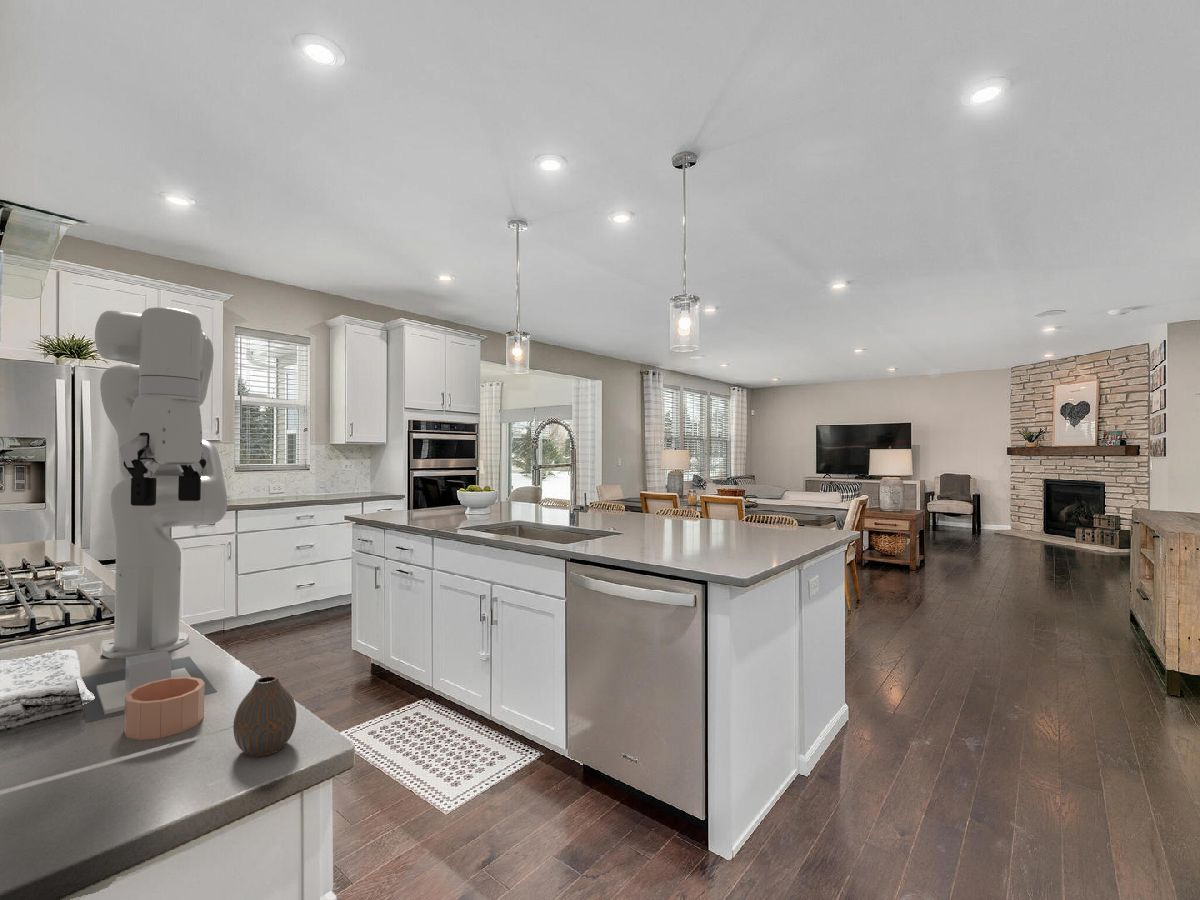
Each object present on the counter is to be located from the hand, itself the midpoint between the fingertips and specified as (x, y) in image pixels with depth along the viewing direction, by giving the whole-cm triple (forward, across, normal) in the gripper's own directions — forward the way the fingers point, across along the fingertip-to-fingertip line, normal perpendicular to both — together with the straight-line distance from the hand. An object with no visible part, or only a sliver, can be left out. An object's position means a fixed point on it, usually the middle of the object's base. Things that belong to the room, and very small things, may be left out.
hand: (167, 502), depth 89 cm
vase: (+30, +16, +24) cm, 41 cm away
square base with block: (+28, 0, -2) cm, 29 cm away
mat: (+29, -2, -4) cm, 29 cm away
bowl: (+29, +10, +8) cm, 32 cm away
